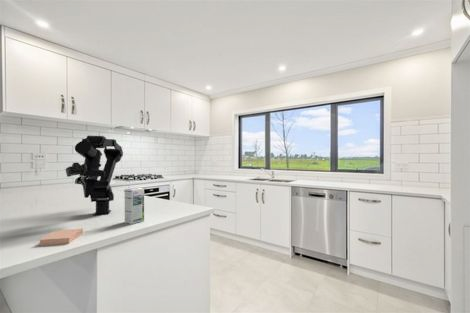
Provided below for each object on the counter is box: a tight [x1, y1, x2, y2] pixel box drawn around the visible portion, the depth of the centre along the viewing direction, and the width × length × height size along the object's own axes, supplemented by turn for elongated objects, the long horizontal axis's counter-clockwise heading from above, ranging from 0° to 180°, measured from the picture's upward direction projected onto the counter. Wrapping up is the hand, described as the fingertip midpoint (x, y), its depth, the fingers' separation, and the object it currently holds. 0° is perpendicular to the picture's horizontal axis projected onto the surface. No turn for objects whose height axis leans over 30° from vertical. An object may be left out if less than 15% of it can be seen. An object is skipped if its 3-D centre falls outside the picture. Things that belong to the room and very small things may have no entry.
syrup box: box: [123, 186, 145, 225], centre depth 91 cm, size 6×6×14 cm
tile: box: [39, 228, 84, 247], centre depth 71 cm, size 2×8×9 cm
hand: (86, 197), depth 87 cm, fingers closed
